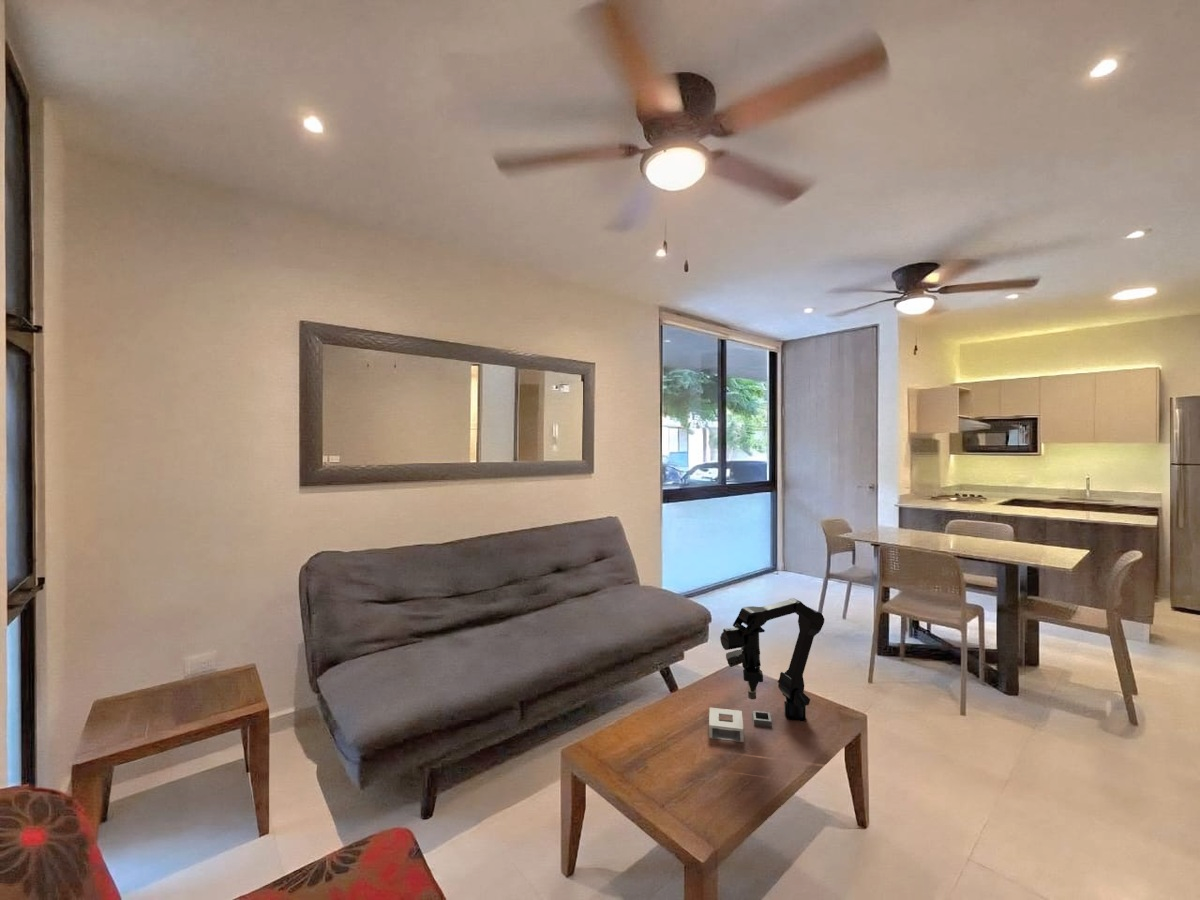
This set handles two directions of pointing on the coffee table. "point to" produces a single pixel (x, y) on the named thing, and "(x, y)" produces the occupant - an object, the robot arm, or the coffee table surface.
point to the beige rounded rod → (751, 693)
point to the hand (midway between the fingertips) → (752, 689)
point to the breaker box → (726, 725)
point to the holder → (762, 718)
